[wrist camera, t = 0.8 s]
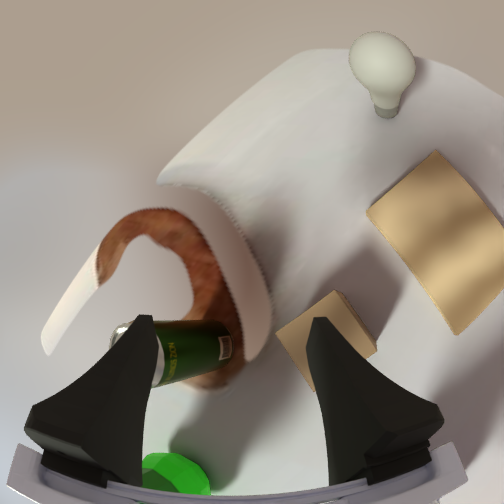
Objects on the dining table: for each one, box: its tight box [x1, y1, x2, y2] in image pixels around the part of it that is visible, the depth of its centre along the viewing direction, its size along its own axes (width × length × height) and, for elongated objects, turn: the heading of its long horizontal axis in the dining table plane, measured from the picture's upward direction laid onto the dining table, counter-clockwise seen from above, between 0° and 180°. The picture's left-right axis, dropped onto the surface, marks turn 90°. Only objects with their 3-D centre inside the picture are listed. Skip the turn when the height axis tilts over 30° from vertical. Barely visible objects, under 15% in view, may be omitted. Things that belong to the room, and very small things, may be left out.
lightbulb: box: [349, 32, 416, 119], centre depth 20 cm, size 6×6×11 cm
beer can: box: [109, 320, 234, 388], centre depth 23 cm, size 5×5×12 cm
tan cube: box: [275, 290, 377, 392], centre depth 21 cm, size 6×6×6 cm
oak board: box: [366, 150, 504, 336], centre depth 20 cm, size 14×10×1 cm
